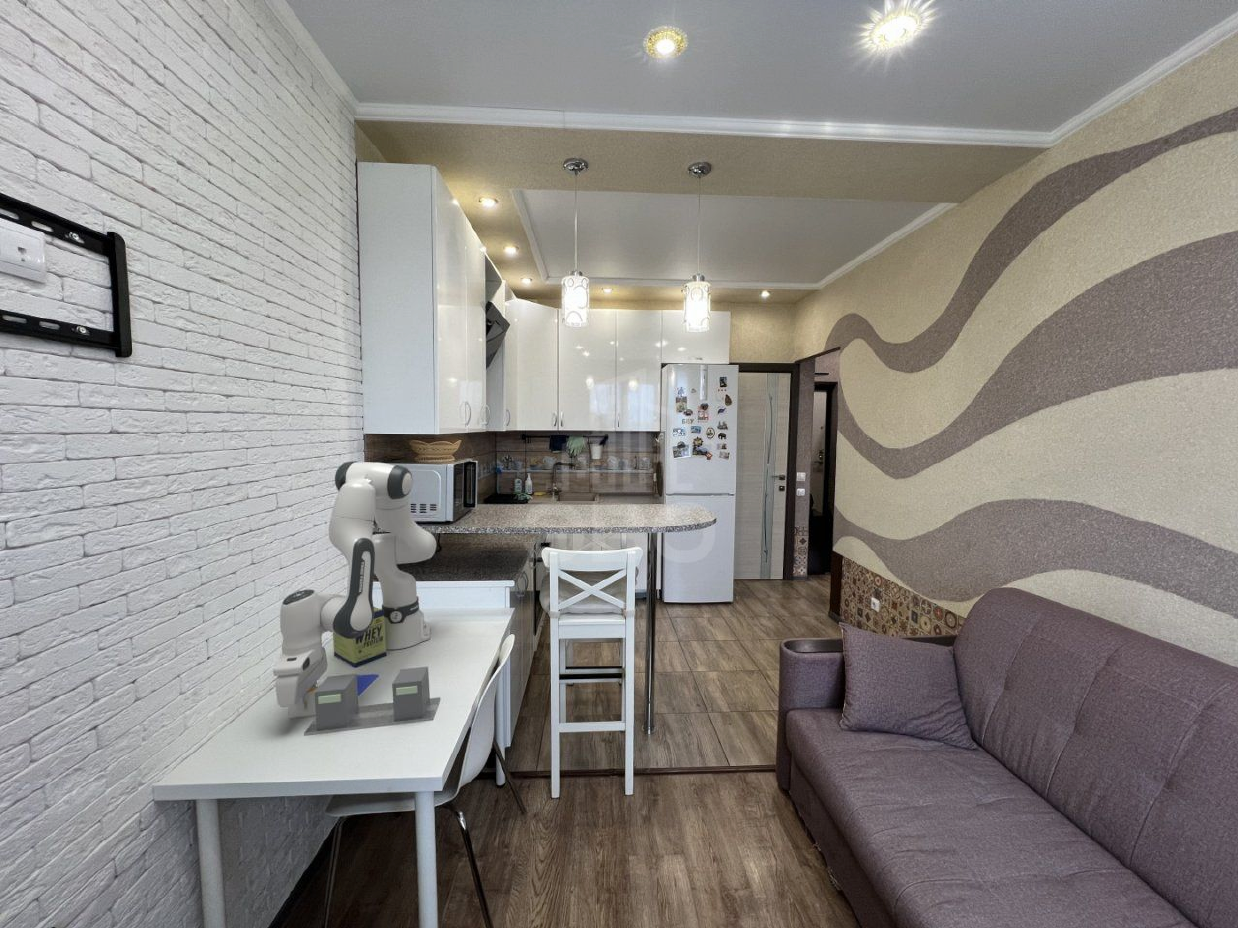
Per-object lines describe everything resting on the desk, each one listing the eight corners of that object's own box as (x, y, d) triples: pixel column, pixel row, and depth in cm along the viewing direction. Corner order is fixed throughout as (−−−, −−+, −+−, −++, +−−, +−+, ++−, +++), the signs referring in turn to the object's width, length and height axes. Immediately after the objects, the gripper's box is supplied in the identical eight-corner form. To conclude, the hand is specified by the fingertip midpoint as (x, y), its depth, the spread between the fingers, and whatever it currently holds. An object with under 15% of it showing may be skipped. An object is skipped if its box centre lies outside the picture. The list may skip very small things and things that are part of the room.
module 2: (402, 705, 132) (400, 669, 131) (430, 702, 133) (428, 666, 132) (393, 723, 123) (391, 684, 123) (422, 719, 125) (420, 681, 124)
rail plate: (321, 712, 129) (321, 710, 129) (440, 699, 134) (440, 697, 134) (303, 735, 120) (303, 732, 120) (432, 719, 124) (432, 717, 124)
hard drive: (352, 674, 148) (327, 696, 136) (379, 673, 148) (356, 695, 136) (352, 679, 148) (327, 702, 136) (379, 678, 148) (357, 701, 136)
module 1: (330, 713, 129) (327, 676, 128) (358, 710, 130) (356, 673, 129) (316, 732, 120) (313, 693, 120) (346, 729, 122) (344, 689, 121)
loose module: (295, 710, 131) (293, 688, 130) (324, 707, 132) (322, 685, 132) (289, 717, 127) (287, 694, 127) (318, 714, 129) (316, 691, 128)
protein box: (355, 668, 155) (352, 620, 154) (333, 656, 164) (330, 610, 163) (387, 655, 163) (384, 609, 162) (364, 644, 172) (362, 601, 171)
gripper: (307, 638, 139) (311, 686, 139) (269, 672, 118) (273, 728, 119) (332, 636, 140) (335, 683, 140) (297, 670, 119) (301, 725, 120)
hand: (306, 704), depth 130 cm, fingers closed on loose module, 3 cm apart
